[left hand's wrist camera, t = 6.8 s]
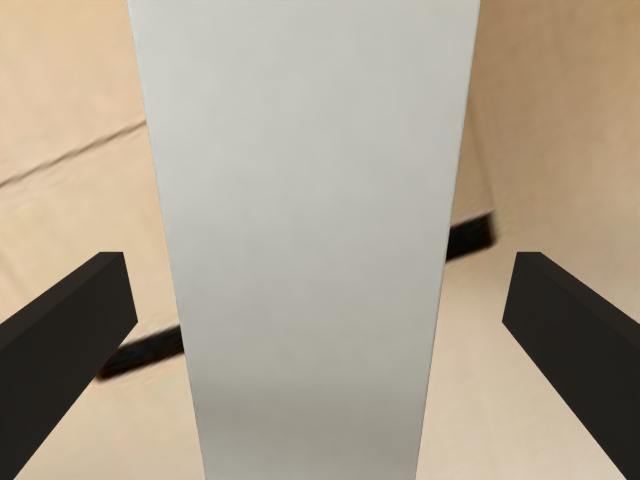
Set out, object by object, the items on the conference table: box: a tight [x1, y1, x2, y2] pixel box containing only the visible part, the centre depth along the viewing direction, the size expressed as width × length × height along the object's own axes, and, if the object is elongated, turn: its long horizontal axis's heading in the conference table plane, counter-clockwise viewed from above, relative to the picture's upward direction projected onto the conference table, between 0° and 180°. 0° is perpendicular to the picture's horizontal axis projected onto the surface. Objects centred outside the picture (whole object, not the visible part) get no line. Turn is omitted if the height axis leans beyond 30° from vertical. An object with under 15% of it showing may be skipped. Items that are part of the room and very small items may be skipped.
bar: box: [127, 0, 481, 480], centre depth 9 cm, size 22×5×8 cm, turn 0°
